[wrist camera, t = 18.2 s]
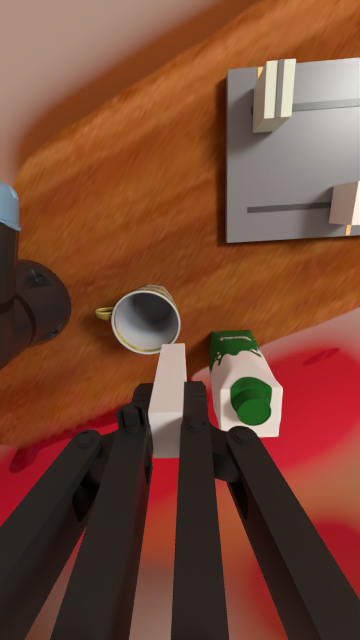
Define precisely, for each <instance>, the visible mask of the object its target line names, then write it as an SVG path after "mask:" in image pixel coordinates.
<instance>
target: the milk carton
mask: <svg viewBox="0 0 360 640" xmlns="http://www.w3.org/2000/svg"><path fill="white" fill-rule="evenodd" d="M209 369H210V378H211V386H212V394H213V405H214V410H215V413H216V415H217V419H218V423H219V428H220V430H224V431H228V430H229V429H230V428H232V427H234V426H246V427H249V428H250V429H252V430H253V431H254V432H255V433H256V434H257V436H258V437H275V436H276V437H277V436H278V434H279V422H280V421H281V404H282V391H283V388H282V387H281V385H280V384H279V383H278V382H277V381H276V380H275V378H274V376H273V374H272V372H271V370H270V368H269V366H268V364H267V362H266V360H265V358H264V356H263V355H262V353H261V351H260V349H259V347H258V345H257V343H256V341H255V339H254V337H253V336H252V334H251V332H250V330H239V331H220V332H212V333H211V343H210V355H209Z"/></svg>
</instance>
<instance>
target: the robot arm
mask: <svg viewBox="0 0 360 640" xmlns="http://www.w3.org/2000/svg"><path fill="white" fill-rule="evenodd" d="M19 209H20V202H19V197H18V195H17V193H16V192H15V190H14V189H13V188H12V187H11V186H10V185H8V184H7V183H5V182H3V181H1V180H0V370H1V369H2V368H4V367H5V366H6V365H7V364H8V363H9V362H11V361H12V360H13V359H14V358H15V357H16V356H18V355H19V354H20V353H21V352H22V351H23V350H25V349H26V348H28V347H31V346H35V345H38V344H42V343H45V342H48V341H50V340H51V339H53V338H54V337H56V336H57V335H58V334H59V333H60V332H61V331H62V330H63V329H64V328H65V327H66V325H67V324H68V321H69V319H70V315H71V302H70V297H69V294H68V292H67V290H66V288H65V286H64V284H63V283H62V281H61V280H60V279H59V278H58V277H57V276H56V275H55V274H54V273H53V272H52V271H51V270H49V269H48V268H46V267H45V266H43V265H41V264H39V263H36V262H33V261H29V260H23V259H18V246H19V232H21V227H20V226H19ZM116 416H117V422H118V427H119V428H118V430H116V431H114V432H112V433H109V434H105V435H100V434H99V432H98V431H96V430H85V431H82V432H80V433H78V434H76V435H75V436H74V437H73V438H72V439H71V441H70V442H69V443H68V444H67V446H66V447H65V448H64V449H63V450H62V452H61V453H60V454H59V455H58V457H57V458H56V459H55V460H54V462H53V463H52V464H51V465H50V466H49V468H48V469H47V470H46V471H45V473H44V474H43V475H42V476H41V478H40V479H39V480H38V482H36V484H35V485H34V486H33V487H32V489H31V490H30V491H29V492H28V494H27V495H26V496H25V497H24V499H23V500H22V501H21V502H20V504H19V505H18V506H17V507H16V508H15V510H14V511H13V512H12V513H11V514H10V516H9V517H8V518H7V519H6V521H5V522H4V523H3V525H2V526H1V527H0V640H25V638H26V636H27V634H28V632H29V630H30V629H31V627H32V625H33V623H34V621H35V619H36V617H37V616H38V614H39V612H40V610H41V608H42V607H43V605H44V603H45V601H46V599H47V597H48V596H49V594H50V592H51V590H52V588H53V586H54V585H55V582H56V581H57V579H58V577H59V575H60V574H61V571H62V570H63V568H64V566H65V564H66V562H67V561H68V559H69V557H70V555H71V553H72V552H73V550H74V548H75V546H76V544H77V542H78V540H79V539H80V537H81V535H82V533H83V531H84V529H85V528H86V530H85V533H84V536H83V539H82V542H81V546H80V549H79V552H78V555H77V558H76V561H75V564H74V567H73V570H72V573H71V576H70V580H69V582H68V586H67V589H66V592H65V595H64V598H63V601H62V604H61V607H60V610H59V613H58V616H57V620H56V623H55V626H54V629H53V632H52V635H51V638H50V640H129V634H130V627H131V620H132V613H133V605H134V598H135V592H136V585H137V577H138V569H139V563H140V556H141V549H142V542H143V534H144V527H145V520H146V513H147V506H148V499H149V492H150V484H151V477H152V470H153V465H152V454H153V455H154V458H179V473H178V495H177V517H176V539H175V560H174V582H173V583H174V584H173V605H172V626H171V627H172V628H171V640H229V634H228V623H227V611H226V600H225V588H224V579H223V578H224V577H223V566H222V555H221V544H220V533H219V522H218V511H217V500H216V488H215V480H214V479H215V478H217V479H220V480H223V481H226V482H227V486H228V488H229V490H230V493H231V496H232V498H233V501H234V503H235V506H236V508H237V511H238V513H239V516H240V518H241V521H242V523H243V526H244V529H245V531H246V534H247V536H248V539H249V541H250V544H251V546H252V549H253V551H254V554H255V556H256V559H257V561H258V564H259V567H260V569H261V572H262V574H263V577H264V579H265V582H266V584H267V587H268V589H269V592H270V594H271V597H272V599H273V602H274V604H275V607H276V609H277V612H278V615H279V617H280V619H281V622H282V624H283V627H284V630H285V632H286V635H287V637H288V639H289V640H360V600H359V598H358V596H357V595H356V593H355V591H354V590H353V588H352V587H351V585H350V583H349V582H348V580H347V579H346V577H345V575H344V574H343V572H342V571H341V569H340V567H339V566H338V564H337V563H336V561H335V559H334V558H333V556H332V555H331V553H330V551H329V550H328V548H327V547H326V545H325V543H324V542H323V540H322V538H321V537H320V535H319V534H318V532H317V530H316V529H315V527H314V526H313V524H312V522H311V521H310V519H309V518H308V516H307V514H306V513H305V511H304V509H303V508H302V506H301V505H300V503H299V501H298V500H297V498H296V497H295V495H294V494H293V492H292V490H291V489H290V487H289V486H288V484H287V482H286V481H285V479H284V477H283V476H282V474H281V473H280V471H279V469H278V468H277V466H276V464H275V463H274V461H273V460H272V458H271V457H270V455H269V453H268V452H267V450H266V449H265V447H264V445H263V444H262V442H261V440H260V439H259V437H258V436H257V434H256V433H255V432H254V431H253V430H252V429H250V428H249V427H246V426H234V427H232V428H230V429H229V430H228V431H224V430H220V429H218V428H216V427H214V426H213V425H212V424H211V423H210V421H209V418H208V407H207V396H206V386H205V385H204V384H203V383H202V381H191V382H187V376H186V359H185V343H183V344H162V347H161V352H160V357H159V362H158V367H157V372H156V377H155V381H154V383H145V384H139V386H138V387H137V388H136V389H135V391H134V394H133V398H132V402H131V404H127V405H124V406H122V407H121V408H120V409H118V411H117V413H116ZM86 526H87V527H86Z"/></svg>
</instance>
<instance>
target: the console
mask: <svg viewBox="0 0 360 640" xmlns="http://www.w3.org/2000/svg"><path fill="white" fill-rule="evenodd" d="M263 68H264V66H262V67H252V68H241V69H230V70H228V71H227V75H226V217H225V241H226V242H227V243H231V242H249V241H266V240H283V239H301V238H318V237H335V236H353V235H360V225H343V224H332V223H329V217H330V210H331V203H332V196H333V188H334V185H339V184H345V183H351V182H356V181H360V58H350V59H339V60H328V61H317V62H306V63H296V64H295V76H294V89H293V102H292V114H291V117H290V118H289V119H288V120H287V121H286V122H285V123H284V124H283V125H282V126H280V127H279V128H278V129H277V130H276V131H271V132H259V133H253V105H254V85H255V83H256V81H257V80H258V78H259V76H260V74H261V72H262V70H263Z"/></svg>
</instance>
